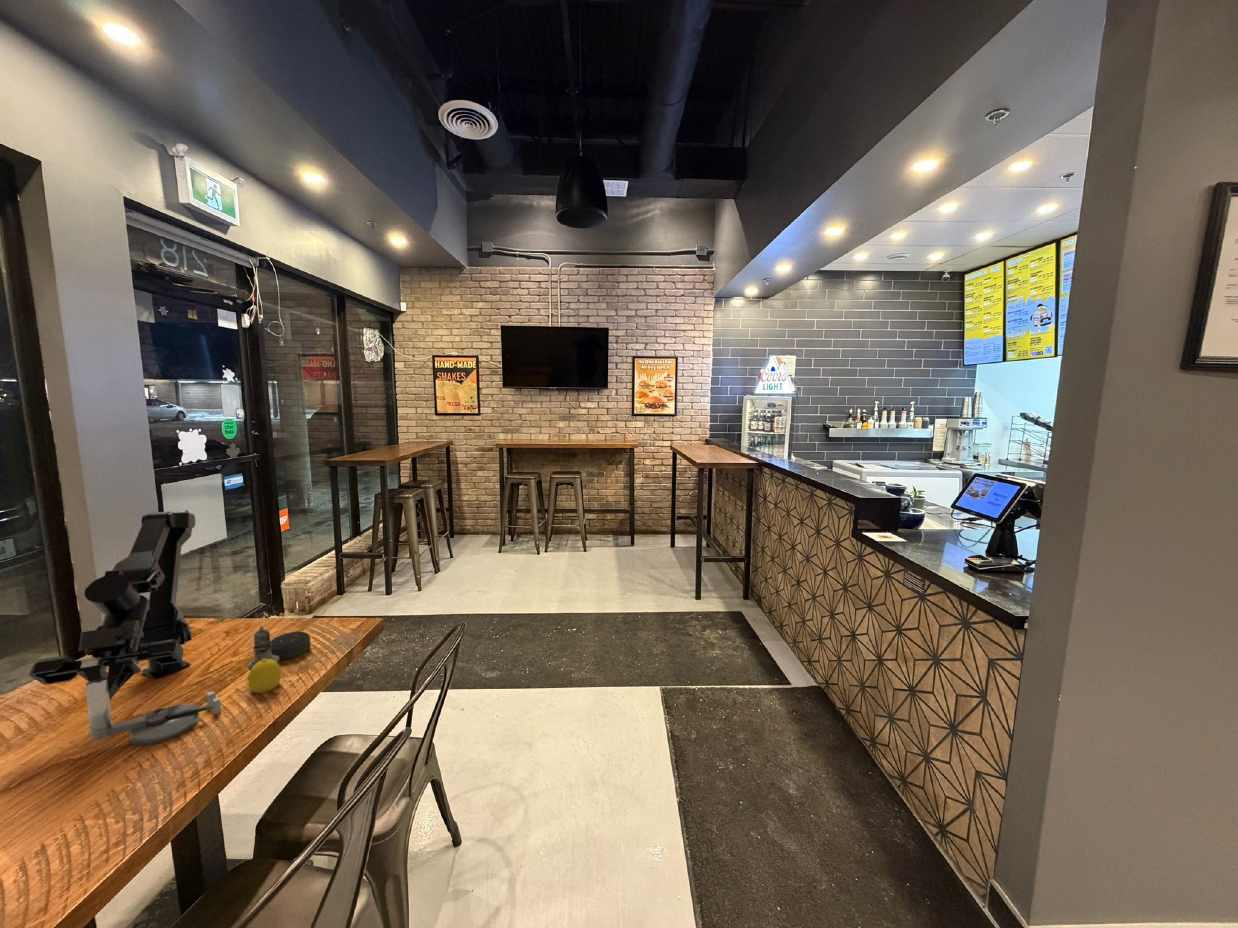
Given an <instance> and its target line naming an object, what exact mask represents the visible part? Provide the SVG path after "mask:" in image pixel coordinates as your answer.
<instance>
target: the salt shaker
mask: <svg viewBox="0 0 1238 928" xmlns="http://www.w3.org/2000/svg"><path fill="white" fill-rule="evenodd" d="M259 629H260V630H257V631H256V632H255V633H254V635H253V638H254V639H253V641H254V642H253V644H254V646H253V647H252V650H253V651H254V658H253V660H251V661H249V663H247V668H248V669H249V672H250V671H251V669H252V667H253V666H254V665H255V664H256V663H258V662H259V661H261V660H262V659H272V660H274V661H276V662H277V663H278V664H279V661H278V660H279V656H277V655H272V653H271V645H272V643H271V642H270V641H271V636H270V633H271V632H270V631H269V629H264V627H263V626H260V627H259Z"/></svg>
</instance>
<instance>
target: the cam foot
mask: <svg viewBox="0 0 1238 928" xmlns="http://www.w3.org/2000/svg"><path fill="white" fill-rule="evenodd" d="M85 692H86V693H85V694H86V701H87V702H86V703H87V711H88V720H89V721H88V722H89V732H90V739H91V741H93V742H94V741H99V740H103V739H106V738H107V737H110V736H114V735H119V734H121V733H125V732H126V733H127V732H130V739H131V740H130V741H131V744H132V745H134V746H139V747H146V746H147V747H149V746H153V745H158V744H161V743H162V744H163V743H165V742H168V741H170V740H174V739H175V738H178V737H180V736H182V735H184V734H185V733H187V732H189V731H190V730H191V729H193V728H194V727H195V726H196V725H197V724H198V723H199V721H200V712H204V711H207V710H208V709H209V707H208V705H207V704H205V705H201V706H198V705H197V704H193V703H183V704H182V703H181V704H176V705H172V706H168V707H165V708H164V707H163V708H158V709H154V710H151V711H150V712H148V713H147V714H146V715H145V716H142V717H137V718H133V719H130V720H125V721H121V722H117V723H113V722H112V714H111V703H110V702H111V700H110V701H109V691H108V681H107V678H99V679H95V680H93V681H90V682H89V681H87V683H86V684H85Z"/></svg>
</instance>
